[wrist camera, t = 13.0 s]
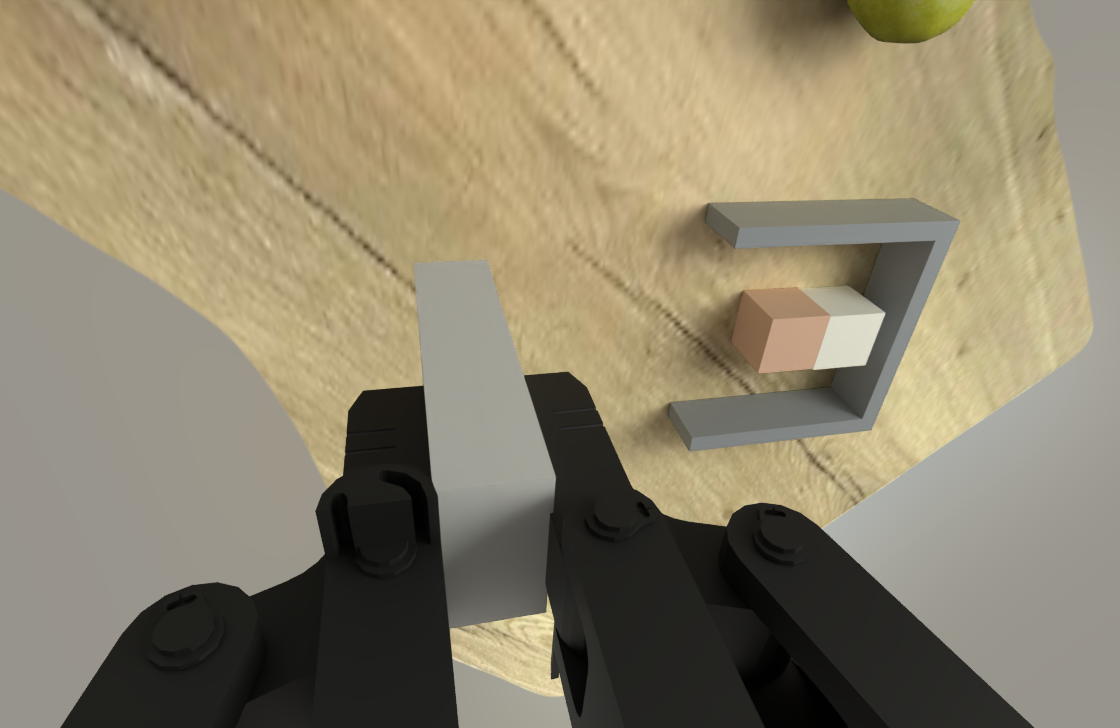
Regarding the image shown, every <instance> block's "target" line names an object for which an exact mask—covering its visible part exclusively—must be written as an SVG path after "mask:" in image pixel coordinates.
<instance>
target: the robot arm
mask: <svg viewBox="0 0 1120 728" xmlns="http://www.w3.org/2000/svg"><path fill="white" fill-rule="evenodd" d="M414 273H415V286H416V299H417V311H418V324H419V337H420V350H421V363H422V375H423V386H414V387H402V388H390V389H378V390H366V391H363V392H362V393H361V394H360V396H359V397H358V398H357V400H356V401H355V403H354V404H353V405H352V407H351V408H350V409H349V411H348V423H347V437H346V447H345V459H344V471H343V476H342V477H340V478H338V479H336V480H335V482H334V483H333V484H332V485H331V486H330V487H329V488H328V489H327V490H326V491H325V492H324V493H323V494H322V496H321V498H320V501H319V503H318V506H317V509H316V511H315V512H316V516H317V520H318V525H319V529H320V533H321V538H322V543H323V547H324V551H325V555H324V556H323V557H322V558H321V559H320V560H319V561H318V562H317V563H316V564H314V565H313V566H312V567H310V568H309V569H308V570H306V571H305V572H304V573H302V574H300V575H298V576H296V577H294V578H292V579H290V580H288V581H286V582H284V583H282V584H279V585H277V586H274V587H272V588H269V589H267V590H264V591H262V592H259V593H257V594H255V595H252V596H248V595H247V594H245V593H244V592H243V591H242V590H241V589H240V588H239V587H235V586H231V585H226V584H222V583H218V582H217V583H207V584H198V585H191V586H189V587H186V588H184V589H181V590H179V591H176V592H173V593H171V594H168V595H166V596H164V597H163V598H161V599H160V600H158V601H157V602H155V603H154V604H152V605H151V606H150V607H148V608H147V609H145V610H144V611H142V612H141V613H140V614H139V615H138V617H137V618H136V619H135V620H134V621H133V622H132V623H131V624H130V626H129V627H128V628H127V629H126V630H125V631H124V632H123V633H122V635H121V636H120V638H119V639H118V641H117V642H116V644H115V646H114V647H113V649H112V650H111V652H110V653H109V655H108V656H107V658H106V659H105V661H104V662H103V664H102V665H101V667H100V668H99V670H98V671H97V673H96V674H95V676H94V677H93V679H92V680H91V682H90V684H89V685H88V686H87V688H86V690H85V691H84V693H83V694H82V696H81V697H80V699H79V700H78V702H77V703H76V705H75V706H74V708H73V709H72V711H71V712H70V714H69V715H68V717H67V718H66V720H65V721H64V723H63V725H62V726H61V728H459V726H458V715H457V704H456V694H455V684H454V673H453V662H452V652H451V641H450V630H449V629H450V628H456V627H462V626H468V625H474V624H480V623H486V622H492V621H498V620H504V619H510V618H516V617H522V616H528V615H533V614H539V613H545V612H546V607H547V593H548V597H549V601H550V605H551V609H552V613H553V617H554V632H553V644H552V655H551V679H555V678H559V673H560V678H561V682H562V686H563V691H564V695H565V699H566V703H567V708H568V712H569V716H570V720H571V725H572V728H1034V727H1033V726H1032V725H1031V724H1030V723H1029V722H1028V721H1027V720H1025V719H1024V718H1023V717H1022V716H1021V715H1020V714H1019V713H1018V712H1017V711H1016V710H1015V709H1014V708H1013V707H1012V706H1010V705H1009V704H1008V703H1007V702H1006V701H1005V700H1004V699H1003V698H1002V697H1001V696H1000V695H999V694H997V692H995V691H994V690H993V689H992V688H991V687H990V686H989V685H988V684H987V683H986V682H985V681H984V680H983V679H982V678H981V677H979V676H978V675H977V674H976V673H975V672H974V671H973V670H972V669H971V668H970V667H969V666H968V665H967V664H966V663H964V662H963V661H962V660H961V659H960V658H959V657H958V656H957V655H956V654H955V653H954V652H953V651H952V650H951V649H949V648H948V647H947V646H946V645H945V644H944V643H943V642H942V641H941V640H940V639H939V638H938V637H937V636H936V635H934V634H933V633H932V632H931V631H930V630H929V629H928V628H927V627H926V626H925V625H924V624H923V623H922V622H921V621H919V620H918V619H917V618H916V617H915V616H914V615H913V614H912V613H911V612H910V611H909V610H908V609H907V608H906V607H905V606H903V605H902V604H901V603H900V602H899V601H898V600H897V599H896V598H895V597H894V596H893V595H892V594H890V593H889V591H887V590H886V589H885V588H884V587H883V586H882V585H881V584H880V583H879V582H878V581H877V580H875V578H874V577H872V576H871V575H870V574H869V573H868V572H867V571H866V570H865V569H864V568H863V567H862V566H861V565H860V564H859V563H857V562H856V561H855V560H854V559H853V558H852V557H851V556H850V555H849V554H848V553H847V552H846V551H845V550H843V549H842V548H841V547H840V546H839V545H838V544H837V543H836V542H835V541H834V540H833V539H832V538H831V537H830V536H828V534H826V533H825V532H824V531H823V530H822V529H821V528H820V527H819V526H818V525H817V524H815V523H814V522H812V521H811V520H810V519H808V518H807V517H805V516H804V515H803V514H801V513H799V512H797V511H794V510H792V509H789V508H787V507H784V506H782V505H776V504H768V503H757V504H751V505H746V506H744V507H742V508H741V509H739V510H738V511H736V512H735V513H733V514H732V516H731V518H730V521H729V523H728V525H727V527H726V526H718V525H711V524H703V523H695V522H688V521H683V520H679V519H674V518H671V517H669V516H667V515H664V514H662V513H661V512H660V510H659V509H658V508H657V506H656V505H655V504H654V502H653V501H652V500H651V499H649V498H648V497H646V496H645V495H643V494H642V493H640V492H639V491H637V490H634V489H633V488H632V486H631V484H630V482H629V480H628V477H627V475H626V473H625V471H624V469H623V466H622V464H621V462H620V460H619V457H618V455H617V453H616V451H615V449H614V446H613V444H612V442H611V440H610V438H609V435H608V433H607V431H606V429H605V427H603V422H602V420H601V418H600V415H599V413H598V411H596V406H595V404H594V402H593V400H592V398H591V395H590V393H589V391H588V389H587V387H586V386H585V385H583V384H582V383H581V382H580V381H579V380H577V379H576V378H575V377H574V376H573V375H571V374H570V373H569V372H559V373H547V374H535V375H523V372H522V369H521V366H520V362H519V359H518V356H517V353H516V350H515V347H514V343H513V340H512V337H511V334H510V331H509V328H508V325H507V321H506V318H505V315H504V312H503V309H502V306H501V303H500V299H499V296H498V293H497V290H496V287H495V284H494V280H493V277H492V274H491V271H490V268H489V265H488V262H487V260H471V261H447V262H422V263H414Z"/></svg>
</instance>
